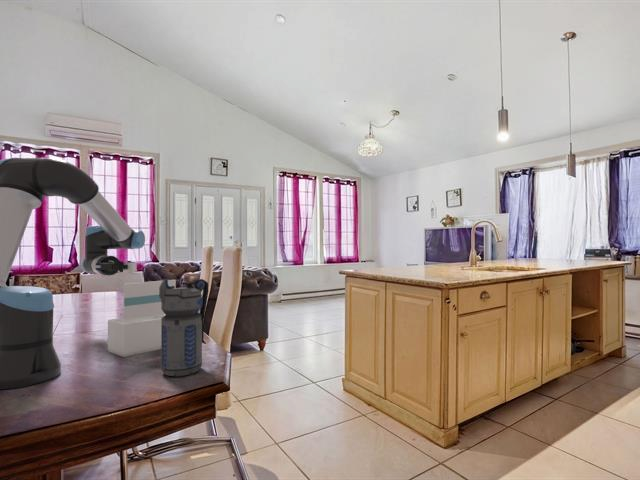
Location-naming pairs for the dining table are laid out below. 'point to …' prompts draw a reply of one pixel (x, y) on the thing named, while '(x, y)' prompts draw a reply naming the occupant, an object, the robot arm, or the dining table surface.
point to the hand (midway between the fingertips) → (134, 266)
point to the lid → (142, 299)
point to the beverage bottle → (182, 327)
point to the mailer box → (134, 335)
